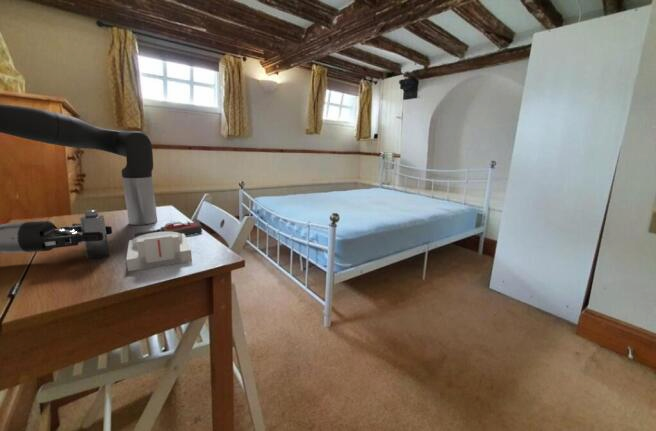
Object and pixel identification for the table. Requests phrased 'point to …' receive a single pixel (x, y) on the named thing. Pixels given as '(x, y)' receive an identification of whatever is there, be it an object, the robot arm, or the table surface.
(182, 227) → the walkie-talkie
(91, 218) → the steel weight
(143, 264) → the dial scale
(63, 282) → the table surface
